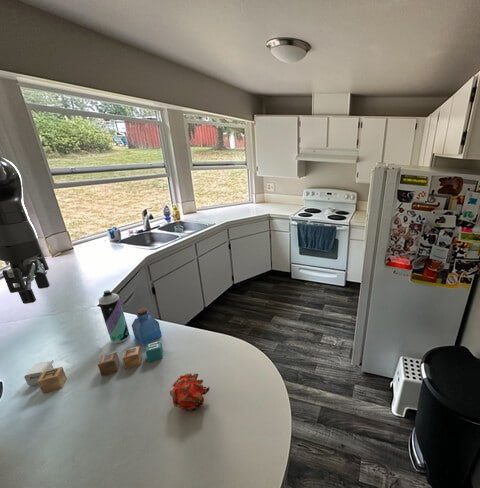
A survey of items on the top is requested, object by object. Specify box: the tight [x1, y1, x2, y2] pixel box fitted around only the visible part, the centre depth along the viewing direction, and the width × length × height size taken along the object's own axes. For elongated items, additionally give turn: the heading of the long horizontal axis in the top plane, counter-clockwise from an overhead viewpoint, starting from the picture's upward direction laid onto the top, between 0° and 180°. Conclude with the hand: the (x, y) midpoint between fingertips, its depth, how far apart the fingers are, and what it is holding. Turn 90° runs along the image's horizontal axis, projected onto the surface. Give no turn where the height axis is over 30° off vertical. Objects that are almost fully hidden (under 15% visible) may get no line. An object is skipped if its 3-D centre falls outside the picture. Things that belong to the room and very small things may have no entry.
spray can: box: [98, 290, 131, 344], centre depth 90 cm, size 6×6×20 cm
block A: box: [37, 366, 68, 394], centre depth 73 cm, size 4×4×5 cm
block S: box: [145, 339, 164, 363], centre depth 85 cm, size 4×4×5 cm
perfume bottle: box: [131, 307, 162, 346], centre depth 92 cm, size 6×6×12 cm
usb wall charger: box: [23, 359, 55, 386], centre depth 76 cm, size 4×7×4 cm, turn 22°
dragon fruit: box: [169, 372, 210, 412], centre depth 69 cm, size 8×8×12 cm
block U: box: [97, 351, 121, 377], centre depth 79 cm, size 4×4×5 cm
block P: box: [122, 345, 143, 370], centre depth 82 cm, size 4×4×5 cm
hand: (37, 294), depth 69 cm, fingers open, 8 cm apart
